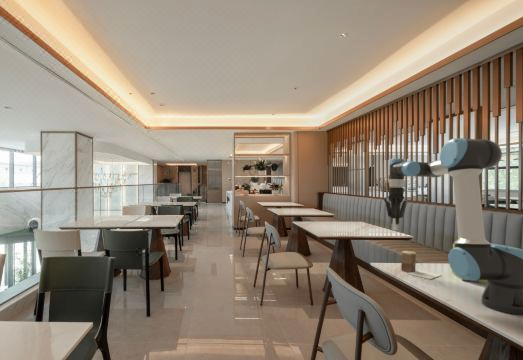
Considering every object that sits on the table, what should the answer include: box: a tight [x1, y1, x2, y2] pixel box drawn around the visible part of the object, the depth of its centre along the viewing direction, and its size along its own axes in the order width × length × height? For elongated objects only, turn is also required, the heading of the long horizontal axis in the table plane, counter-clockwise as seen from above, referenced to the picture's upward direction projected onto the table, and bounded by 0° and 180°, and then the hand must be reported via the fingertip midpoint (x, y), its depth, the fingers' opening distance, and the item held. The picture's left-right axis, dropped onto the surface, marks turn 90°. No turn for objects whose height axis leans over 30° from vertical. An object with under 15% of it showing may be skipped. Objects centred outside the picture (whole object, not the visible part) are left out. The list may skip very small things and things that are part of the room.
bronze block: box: [400, 250, 417, 273], centre depth 171 cm, size 5×5×10 cm
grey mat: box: [407, 269, 442, 280], centre depth 165 cm, size 12×11×1 cm
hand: (394, 230), depth 178 cm, fingers closed
